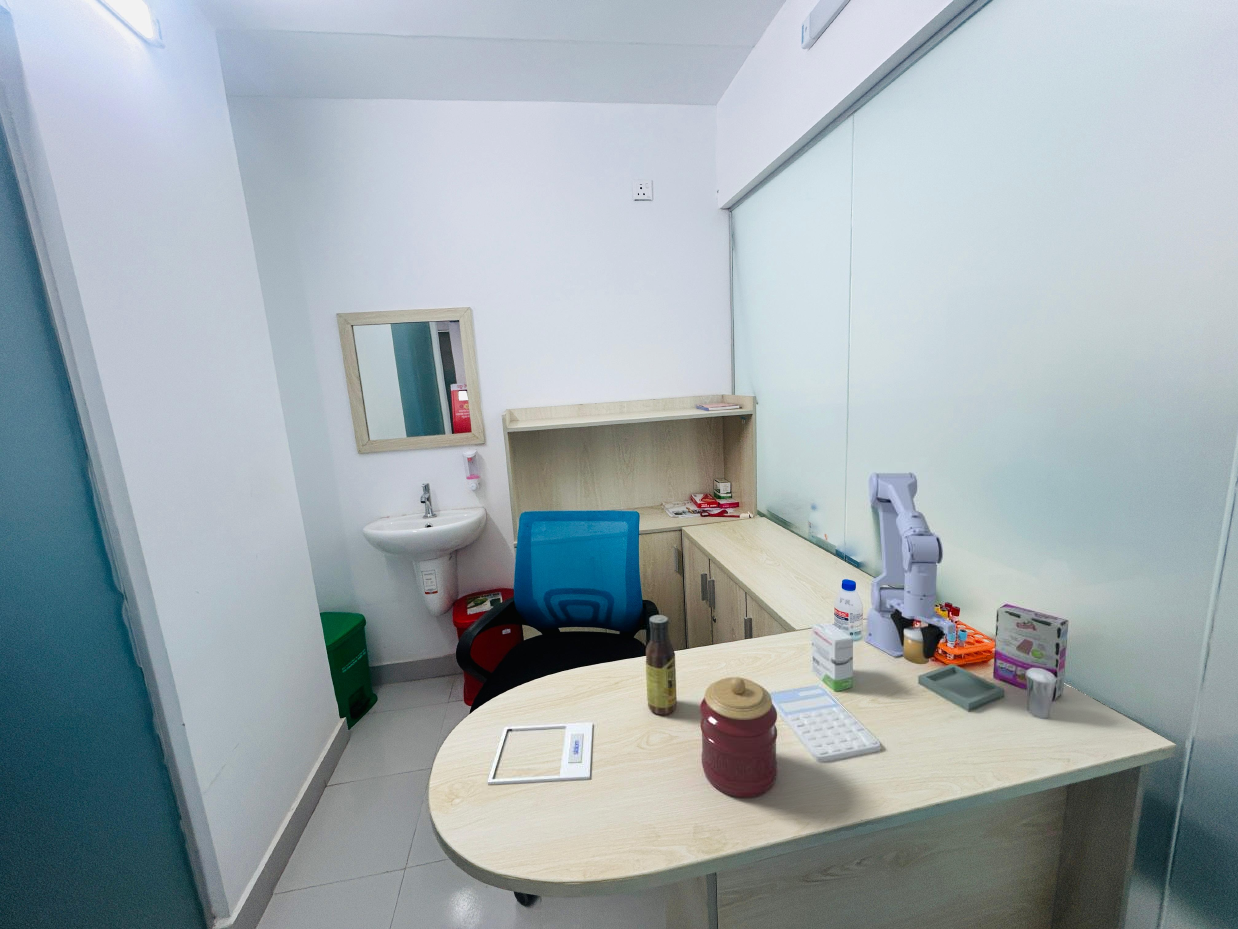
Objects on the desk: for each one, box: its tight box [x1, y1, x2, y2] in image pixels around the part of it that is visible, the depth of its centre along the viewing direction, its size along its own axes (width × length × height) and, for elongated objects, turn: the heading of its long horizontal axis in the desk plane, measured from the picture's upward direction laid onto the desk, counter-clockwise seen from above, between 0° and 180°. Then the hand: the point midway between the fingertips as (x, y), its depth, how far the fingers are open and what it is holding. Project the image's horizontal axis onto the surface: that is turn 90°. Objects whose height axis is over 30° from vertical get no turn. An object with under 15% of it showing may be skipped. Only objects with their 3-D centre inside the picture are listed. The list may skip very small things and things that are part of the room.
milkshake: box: [1026, 668, 1063, 719], centre depth 99 cm, size 4×5×10 cm
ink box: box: [811, 622, 854, 692], centre depth 114 cm, size 9×5×12 cm, turn 14°
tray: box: [917, 663, 1005, 712], centre depth 108 cm, size 11×11×2 cm
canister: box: [699, 676, 778, 799], centre depth 88 cm, size 13×13×18 cm
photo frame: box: [487, 721, 594, 786], centre depth 96 cm, size 15×1×18 cm
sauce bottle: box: [645, 614, 677, 716], centre depth 106 cm, size 7×6×20 cm
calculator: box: [768, 684, 882, 763], centre depth 101 cm, size 13×20×2 cm, turn 11°
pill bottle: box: [902, 626, 930, 665], centre depth 108 cm, size 5×5×6 cm
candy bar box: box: [992, 603, 1069, 702], centre depth 108 cm, size 11×5×16 cm, turn 33°
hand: (917, 651), depth 108 cm, fingers closed on pill bottle, 5 cm apart
